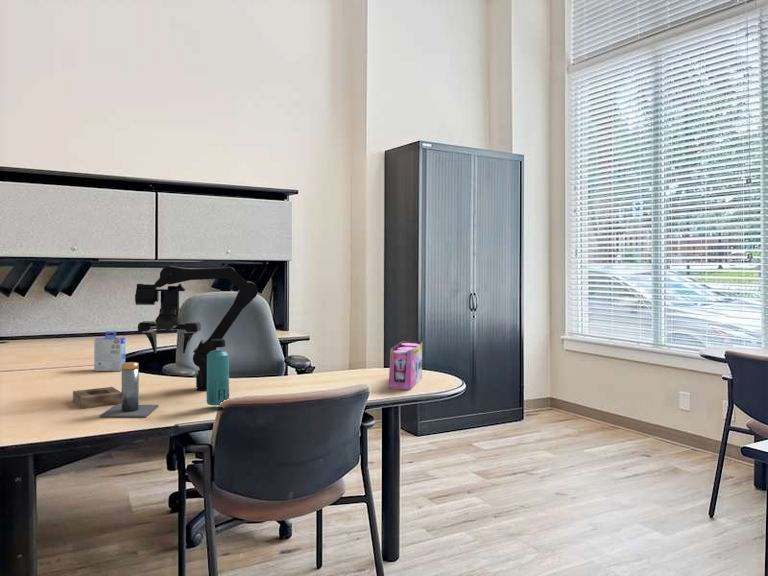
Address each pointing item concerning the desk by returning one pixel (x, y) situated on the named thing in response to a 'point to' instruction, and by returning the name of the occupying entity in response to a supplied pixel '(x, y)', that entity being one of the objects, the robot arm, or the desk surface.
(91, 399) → the brown square frame
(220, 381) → the beverage bottle
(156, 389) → the desk surface
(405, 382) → the gum box
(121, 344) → the ink cartridge box
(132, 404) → the amber topped metal pillar
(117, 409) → the mat
